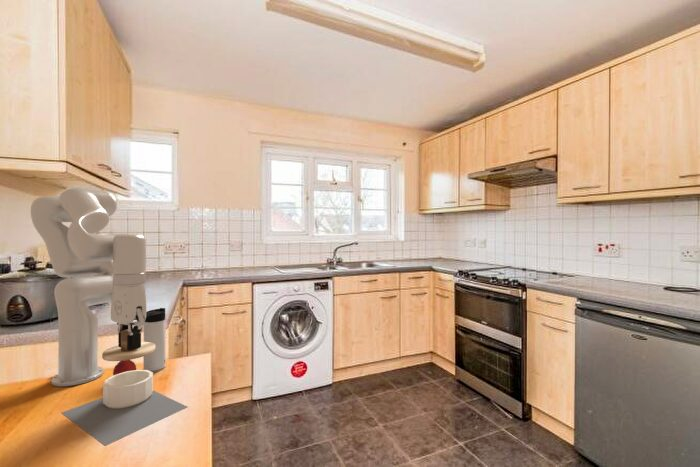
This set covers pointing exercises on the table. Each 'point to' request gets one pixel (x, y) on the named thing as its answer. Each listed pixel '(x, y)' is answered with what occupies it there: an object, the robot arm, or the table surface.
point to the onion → (124, 367)
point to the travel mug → (155, 339)
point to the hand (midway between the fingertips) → (129, 346)
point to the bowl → (127, 389)
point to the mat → (121, 417)
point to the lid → (123, 353)
